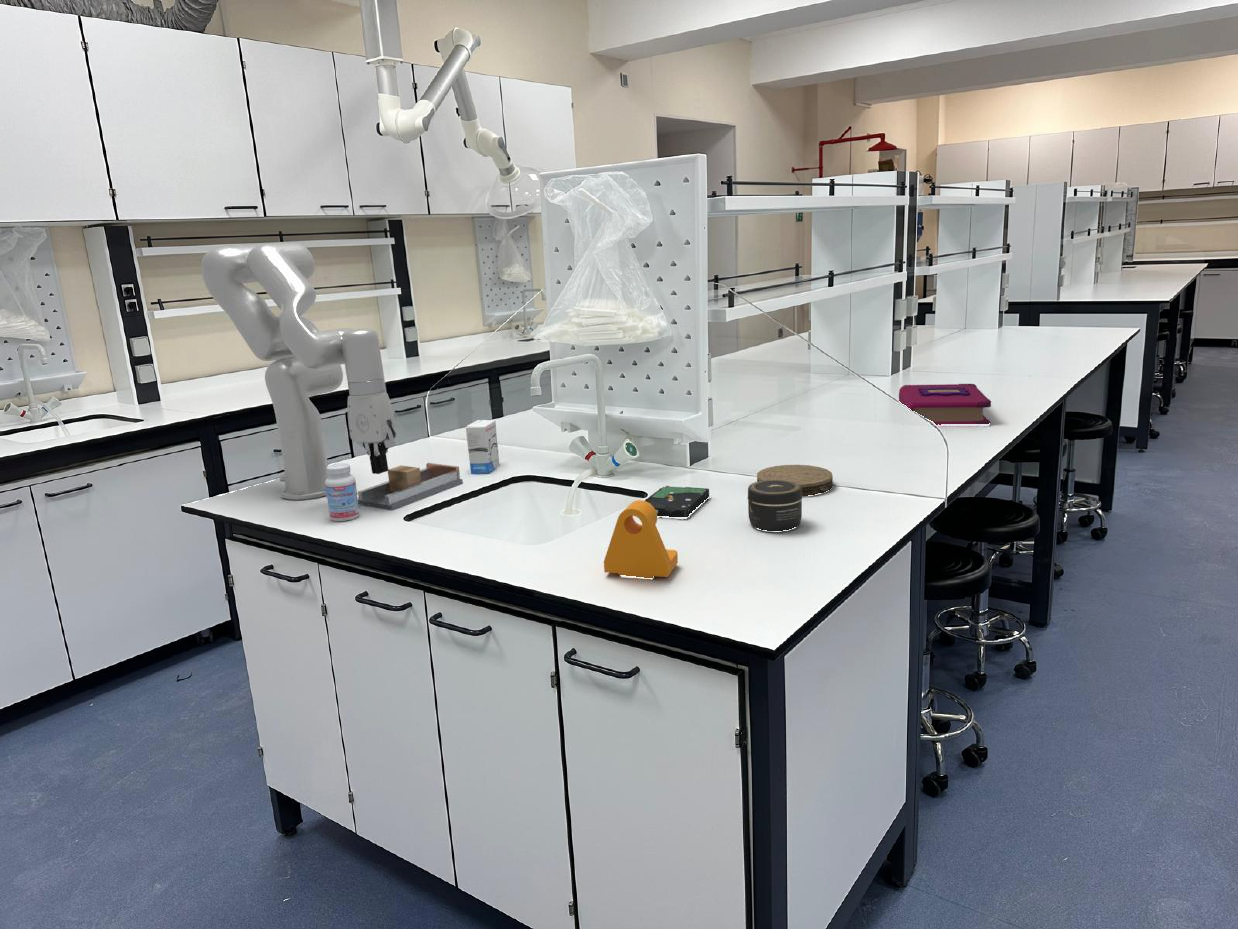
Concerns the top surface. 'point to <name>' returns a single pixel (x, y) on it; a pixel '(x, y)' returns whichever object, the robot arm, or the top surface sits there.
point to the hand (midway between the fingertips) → (380, 472)
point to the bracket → (639, 545)
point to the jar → (775, 504)
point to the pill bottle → (341, 493)
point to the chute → (412, 488)
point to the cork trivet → (800, 477)
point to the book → (946, 403)
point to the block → (403, 477)
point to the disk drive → (677, 500)
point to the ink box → (482, 446)
